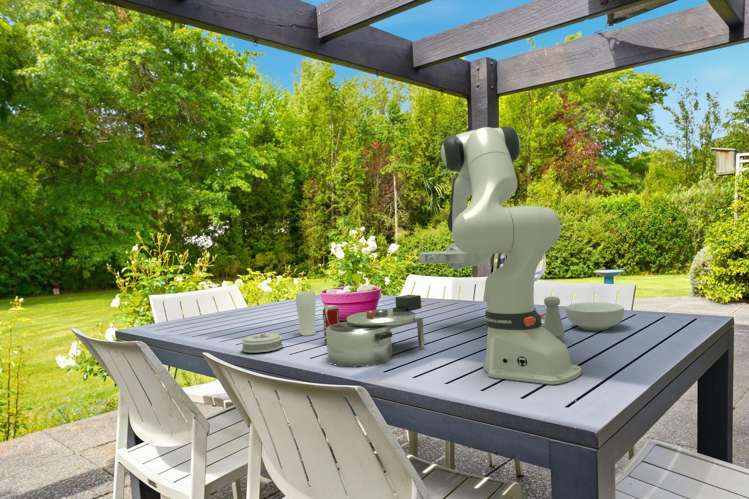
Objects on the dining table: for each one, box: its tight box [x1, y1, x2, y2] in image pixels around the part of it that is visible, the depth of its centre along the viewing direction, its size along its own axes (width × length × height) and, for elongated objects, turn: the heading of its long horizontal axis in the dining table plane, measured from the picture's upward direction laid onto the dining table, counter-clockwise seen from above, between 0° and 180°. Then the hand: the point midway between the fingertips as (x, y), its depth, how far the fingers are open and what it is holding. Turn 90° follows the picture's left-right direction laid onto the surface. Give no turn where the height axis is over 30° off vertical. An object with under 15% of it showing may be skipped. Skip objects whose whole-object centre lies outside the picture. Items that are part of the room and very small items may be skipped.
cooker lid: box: [346, 294, 422, 327], centre depth 151 cm, size 20×25×5 cm
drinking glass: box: [295, 290, 317, 337], centre depth 181 cm, size 7×7×15 cm
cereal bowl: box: [565, 301, 625, 332], centre depth 163 cm, size 17×17×7 cm
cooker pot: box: [326, 317, 425, 367], centre depth 147 cm, size 22×27×9 cm
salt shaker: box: [543, 296, 565, 342], centre depth 148 cm, size 6×6×13 cm
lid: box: [241, 332, 284, 354], centre depth 162 cm, size 13×13×5 cm
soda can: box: [322, 304, 341, 345], centre depth 165 cm, size 5×5×12 cm
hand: (431, 259), depth 165 cm, fingers closed
